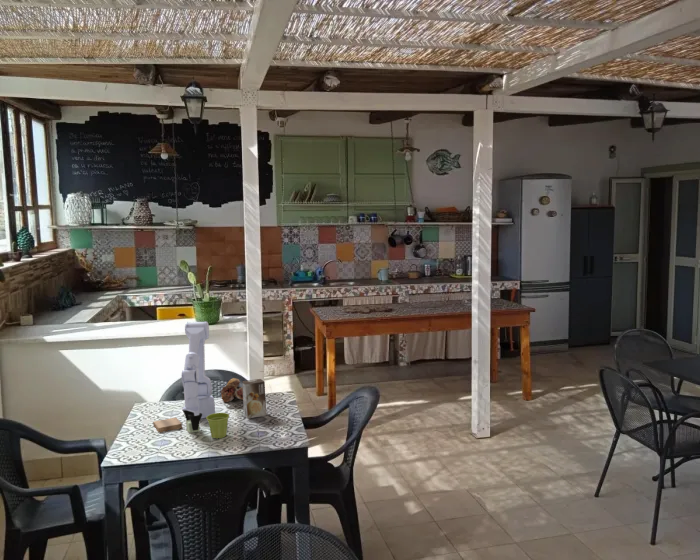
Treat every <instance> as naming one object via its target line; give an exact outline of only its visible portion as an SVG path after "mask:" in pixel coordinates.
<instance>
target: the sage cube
mask: <svg viewBox="0 0 700 560" xmlns="http://www.w3.org/2000/svg"><path fill="white" fill-rule="evenodd" d="M185 425H186V427H185V428H186V431H187V432H188V433H189V434H193V433H198V432H200V427H199V428H198V430H194V431H193V429H192V424H191V421H190V420H186V419H185ZM197 431H198V432H197Z"/></svg>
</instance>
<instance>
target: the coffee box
mask: <svg viewBox="0 0 700 560" xmlns="http://www.w3.org/2000/svg"><path fill="white" fill-rule="evenodd" d="M265 383H266V381H264V380H263V379H262V378H259V379H258V378H255V379H249V380H243V381H241V384H242V387H243V399H242V401H243V416H244V417H246V418H247V419H252V418H258V417H265V416H267V402H266V386H265Z"/></svg>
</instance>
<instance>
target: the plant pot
mask: <svg viewBox="0 0 700 560" xmlns="http://www.w3.org/2000/svg"><path fill="white" fill-rule="evenodd" d="M229 418H230V414H229V413H226V412H215V413H214V414H210V415H208V416H207V417H206V418H205V419H206V420H207V422H208V425H209V426H208V427H209V431H210V436H211V438H212V439H218V438H219V439H223V438H225V437H227V431H228V421H229Z"/></svg>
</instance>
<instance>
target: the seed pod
mask: <svg viewBox="0 0 700 560" xmlns="http://www.w3.org/2000/svg"><path fill="white" fill-rule="evenodd" d="M240 383H241V381H240V379H239V378H235V377H233V378H231V379H229V380H228V381H227V384H226V385H225V386H223V387H222V389H221V390H220V396H221V400H222V402H224V403H230V402H231V401H233V400H234V399H235V398H236V399H239V400H243V386H240Z"/></svg>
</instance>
